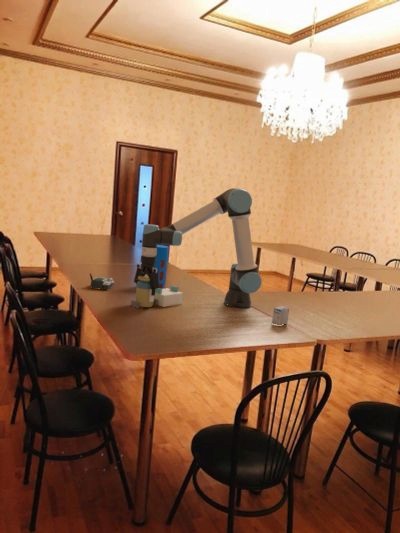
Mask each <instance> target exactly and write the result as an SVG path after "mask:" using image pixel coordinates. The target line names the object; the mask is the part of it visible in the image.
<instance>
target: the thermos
mask: <svg viewBox="0 0 400 533" xmlns="http://www.w3.org/2000/svg"><path fill="white" fill-rule="evenodd" d="M168 258H169V245H159V244H157V253H156V263H155V264H154V268H156V269H159V271H158V281H159V288H160V289H165V287H166V281H167V272H168V261H169V260H168Z"/></svg>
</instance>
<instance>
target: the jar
mask: <svg viewBox="0 0 400 533" xmlns="http://www.w3.org/2000/svg"><path fill="white" fill-rule="evenodd" d="M138 279H139V280H140V281H138V282H137V284H136V287H137V288H135V289H136V290H135V301H137V302H140V305H139V308H143V307H148V308H152V307H153V306H154V305H153V302H149V293H150V288H151V286H150V279H149V277H148V276H147V274H145V276H138ZM153 287H154V286H153Z"/></svg>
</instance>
